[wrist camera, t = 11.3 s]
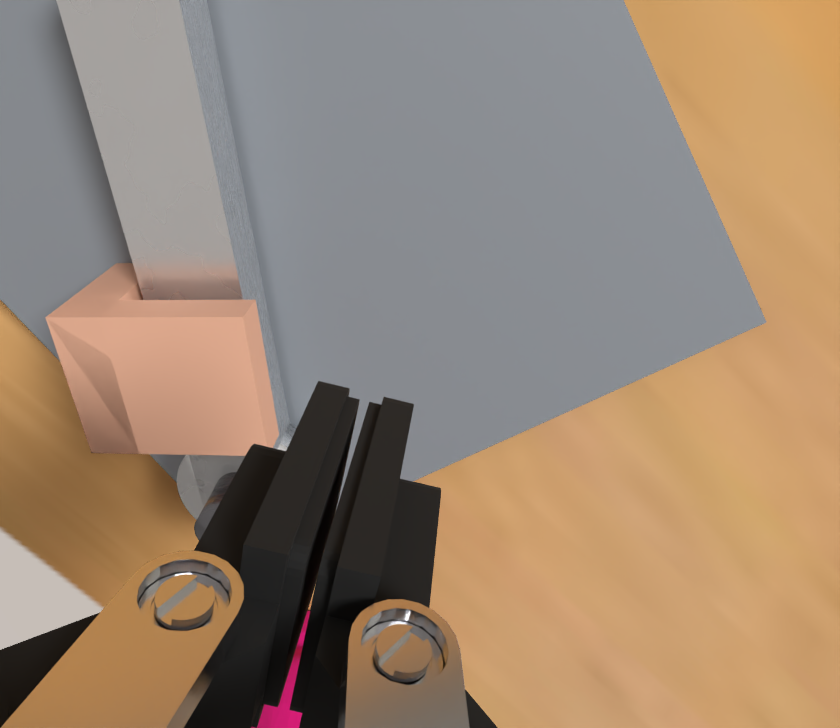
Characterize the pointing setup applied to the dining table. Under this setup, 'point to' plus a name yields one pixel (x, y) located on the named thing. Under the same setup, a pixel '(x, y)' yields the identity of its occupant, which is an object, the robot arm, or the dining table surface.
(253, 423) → the block
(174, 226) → the steel link
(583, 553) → the dining table surface
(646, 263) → the slate board
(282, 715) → the pepper mill
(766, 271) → the dining table surface
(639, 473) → the dining table surface
